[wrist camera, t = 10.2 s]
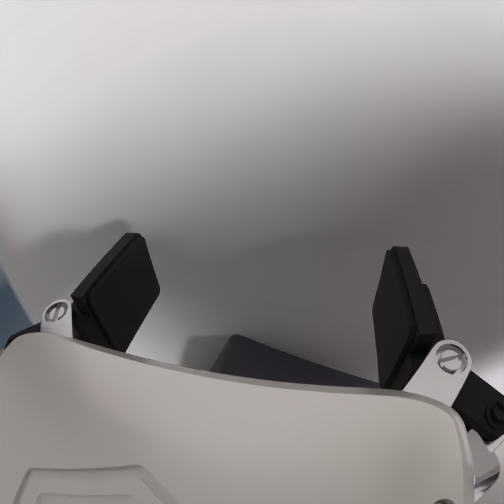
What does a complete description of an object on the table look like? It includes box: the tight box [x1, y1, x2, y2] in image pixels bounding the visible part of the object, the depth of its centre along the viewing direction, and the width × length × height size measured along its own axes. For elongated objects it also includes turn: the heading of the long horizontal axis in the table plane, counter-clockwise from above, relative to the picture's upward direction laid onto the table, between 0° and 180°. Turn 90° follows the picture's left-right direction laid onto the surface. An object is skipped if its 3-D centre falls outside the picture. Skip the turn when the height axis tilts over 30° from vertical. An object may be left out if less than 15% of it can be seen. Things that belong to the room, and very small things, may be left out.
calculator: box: [211, 335, 379, 389], centre depth 20 cm, size 11×4×15 cm
